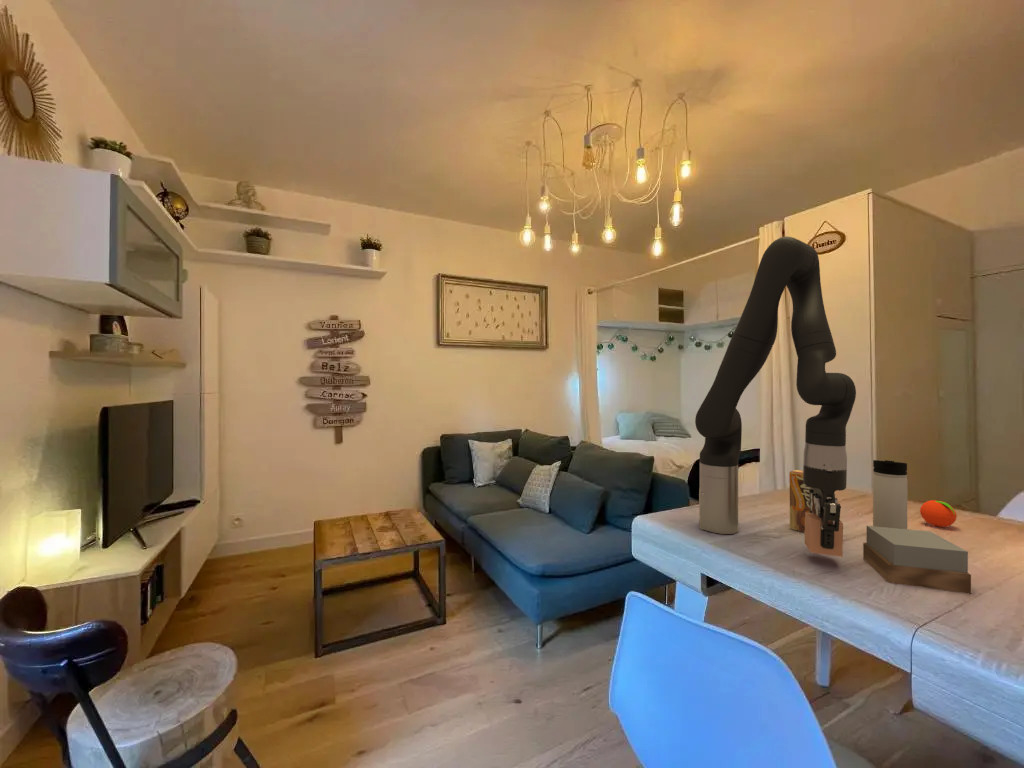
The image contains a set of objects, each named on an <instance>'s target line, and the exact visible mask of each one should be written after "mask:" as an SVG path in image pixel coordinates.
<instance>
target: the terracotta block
mask: <svg viewBox="0 0 1024 768" xmlns="http://www.w3.org/2000/svg"><path fill="white" fill-rule="evenodd" d="M823 515H824V514H823ZM827 524H831V520H828V523H827ZM820 534H821V528H820V519H819V518H817V515H816V514H814V513H808V512H805V532H804V544H805V546H806V548H807V549H808V551H809V553H813V554H821V555H827V556H833V557H840V558H843V550H844V549H843V547H844V543H843V542H844V523H843V521H841V520H840V521H839V531H838V532H837V531H836V532H834V548H833V549H826V548H822V547H821V545H820Z"/></svg>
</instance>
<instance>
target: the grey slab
mask: <svg viewBox="0 0 1024 768" xmlns="http://www.w3.org/2000/svg"><path fill="white" fill-rule="evenodd" d="M865 540H866V542H865V543H866V544H867V545H868V546H870V547H871V548H872V549H874V550H875V551H876V552H878V553H879V554H880V555H881V556H883V557H884V558H885V559H887V560H888V561H889V562H891V563H892V564H893V565H898V566H907V567H916V568H925V569H934V570H943V571H952V572H961V573H969V572H968V571H969V551H967V550H965V549H964V548H962V547H960V546H958V545H956V544H954V543H953V542H950V541H949V540H947V539H945V538H944V537H941V536H940V535H938V534H936V533H934V532H932V531H930V530H919V529H909V528H907V529H898V528H887V527H875V526H873V525H866V539H865Z"/></svg>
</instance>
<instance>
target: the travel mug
mask: <svg viewBox="0 0 1024 768" xmlns="http://www.w3.org/2000/svg"><path fill="white" fill-rule="evenodd" d="M872 462H873V463H872V467H873V468H872V526H875V527H887V528H898V529H908V463H907V462H899V461H895V460H886V459H885V460H876V459H873V460H872Z"/></svg>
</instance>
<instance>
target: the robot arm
mask: <svg viewBox="0 0 1024 768" xmlns="http://www.w3.org/2000/svg"><path fill="white" fill-rule="evenodd" d="M759 261H760V263H759V265H758V268H757V271H756V275H755V277H754V281H753V285H752V287H751V291H750V293H749V296H748V299H747V300H746V304H745V306H744V309H743V311H742V313H741V316H740V318H739V321H738V322H737V325H736V327H735V328H734V332H733V333H732V336H731V338H730V341H729V343H728V345H727V348H726V350H725V353H724V356H723V357H722V360H721V363H720V365H719V368H718V370H717V373H716V376H715V378H714V381H713V383H712V385H711V387H710V389H709V391H708V392H707V393H706V395H705V397H704V400H703V401H702V403H701V404H700V406H699V408H698V410H697V412H696V414H695V419H694V424H695V428H696V430H697V432H698V433H699V434H700V435H701V437H704V444H703V447H702V449H701V450H700V452H699V488H698V489H699V490H698V491H699V492H698V493H699V494H698V497H699V498H698V502H699V503H698V507H699V509H698V510H699V511H698V518H699V519H698V521H699V522H698V525H699V529H700V530H701V531H707V532H710V533H713V534H721V535H733V534H737V533H738V532H739V458H740V455H741V451H742V432H743V429H742V428H743V427H742V418H741V414H740V412H739V410H738V409H737V406H738V403H739V401H740V399H741V396H742V395H743V393H744V391H745V390H746V389H747V387H748V386H749V385H750V383H752V382H753V380H754V378H756V376H757V374H758V373H760V371H761V369H762V368H763V366H764V365H765V363H766V361H767V360H768V357H769V355H770V353H771V351H772V349H773V347H774V345H775V342H776V339H777V334H778V327H779V326H778V325H779V323H778V321H779V305H780V301H781V298H782V296H783V292H784V291H785V289H786V288H787V290H788V292H789V294H790V298H791V302H792V315H791V321H790V322H791V323H790V324H791V325H790V327H791V328H790V331H791V336H792V337H791V338H792V341H793V345H794V348H795V349H794V350H795V353H796V357H797V367H796V390H797V393H798V395H799V397H800V399H802V400H803V402H804V403H806V404H808V405H811V406H820V410H819V412H818V413H817V414H816V415H813V416H810V417H808V418H807V420H806V421H805V436H804V438H805V439H804V440H805V441H804V442H805V443H804V449H803V467H802V468H803V470H802V471H803V483H804V484H805V485H806V486H809V487H812V488H810V489H809V494H810V513H814V514H816V515H817V518H819V519H820V528H821V534H820V545H821V547H822V548H826V549H833V548H834V532H836V531H837V532H838V531H839V521H841V508H842V506H841V504H840V503H839V501H838V498H837V497H836V493H835V492H836V491H841V492H842V491H844V490H846V489H847V479H848V478H847V477H848V476H847V475H848V474H847V471H848V469H847V467H848V454H847V449H846V448H847V446H846V444H847V443H846V442H847V434H846V433H847V424H848V422H849V420H850V417H851V414H852V412H853V407H854V405H855V401H856V398H857V397H856V396H857V390H856V389H857V388H856V385H855V382H854V381H853V379H852V378H851V377H850V376H849V375H847V374H845V373H840V372H827V371H826V364H827V363H830V362H831V361H833V360H834V359H836V357H837V349H836V346H835V342H834V339H833V335H832V332H831V329H830V325H829V320H828V318H827V314H826V310H825V309H826V308H825V305H824V304H825V303H824V300H823V298H824V297H823V291H822V284H821V283H822V282H821V268H820V258H819V255H818V252H817V250H816V249H815V248H814V247H813V246H811V245H809V244H808V243H806V242H804V241H802V240H800V239H797V238H796V237H793V236H782V237H779V238H777V239H775V240H773V242H771V243H770V244H769V245H768V246H767V248H766V249H765V251H764V253H763V254H762V257H761V259H760V260H759ZM815 506H816V507H815ZM823 514H824V515H823ZM828 520H831V524H827V523H828Z"/></svg>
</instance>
